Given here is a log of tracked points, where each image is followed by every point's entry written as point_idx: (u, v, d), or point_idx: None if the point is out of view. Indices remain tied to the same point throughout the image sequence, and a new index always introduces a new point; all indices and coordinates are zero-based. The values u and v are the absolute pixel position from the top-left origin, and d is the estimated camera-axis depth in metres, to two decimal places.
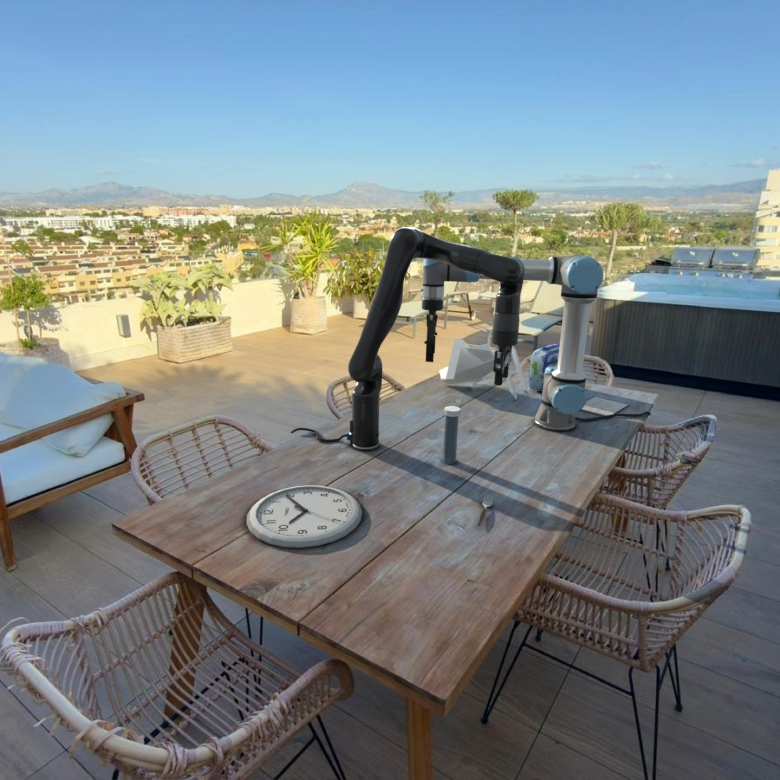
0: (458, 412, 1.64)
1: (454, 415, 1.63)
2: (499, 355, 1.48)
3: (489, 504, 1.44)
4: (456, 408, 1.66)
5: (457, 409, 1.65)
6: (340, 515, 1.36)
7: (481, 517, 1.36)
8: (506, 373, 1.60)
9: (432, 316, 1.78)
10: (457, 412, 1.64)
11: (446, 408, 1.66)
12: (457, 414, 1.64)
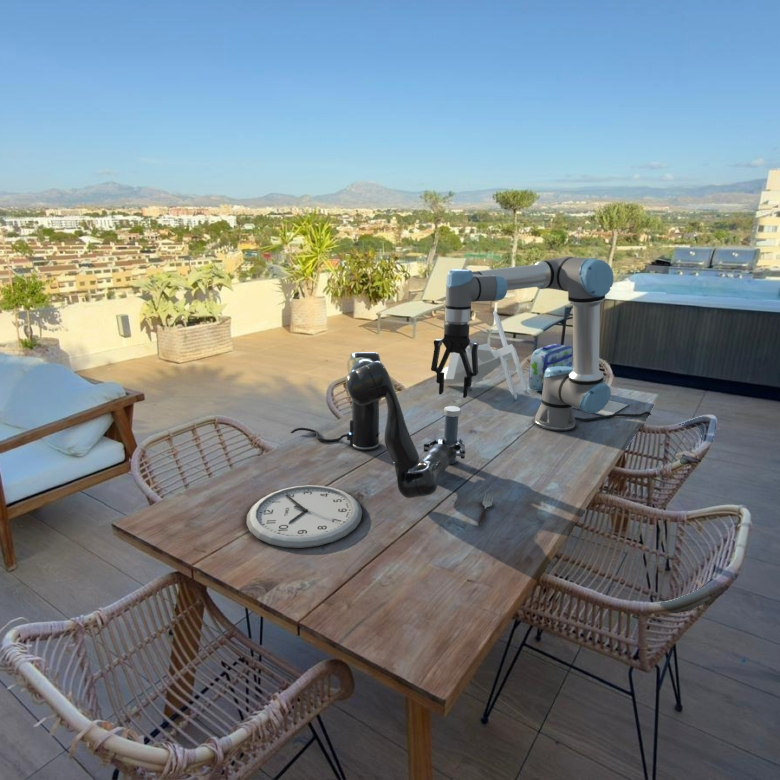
0: (458, 412, 1.64)
1: (454, 415, 1.63)
2: None
3: (489, 504, 1.44)
4: (456, 408, 1.66)
5: (457, 409, 1.65)
6: (340, 515, 1.36)
7: (481, 517, 1.36)
8: None
9: None
10: (457, 412, 1.64)
11: (446, 408, 1.66)
12: (457, 414, 1.64)
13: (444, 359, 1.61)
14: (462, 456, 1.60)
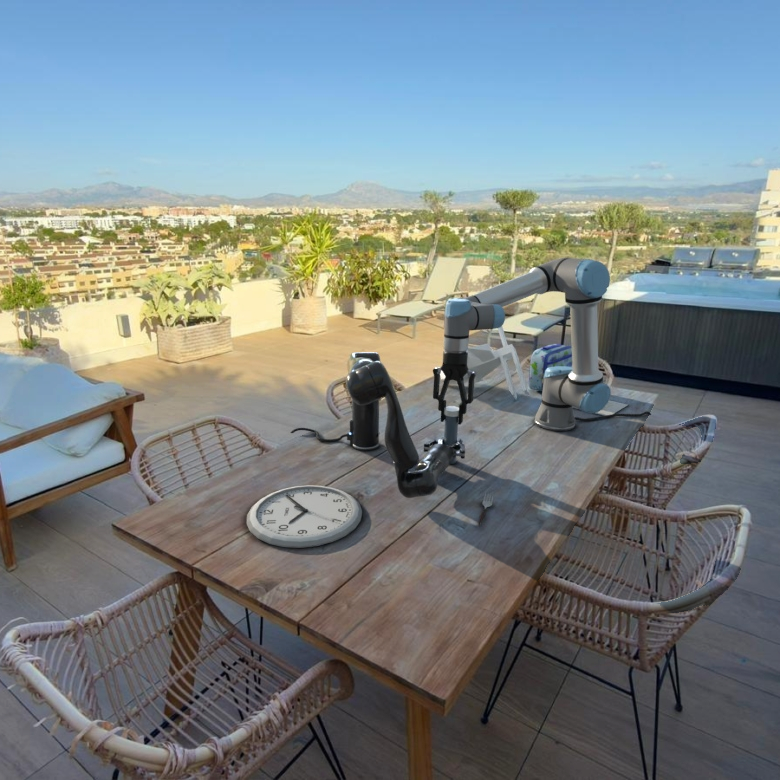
0: (458, 412, 1.64)
1: (454, 415, 1.63)
2: None
3: (489, 504, 1.44)
4: (456, 408, 1.66)
5: (457, 409, 1.65)
6: (340, 515, 1.36)
7: (481, 517, 1.36)
8: None
9: None
10: (457, 412, 1.64)
11: (446, 408, 1.66)
12: (457, 414, 1.64)
13: (444, 387, 1.63)
14: (462, 456, 1.60)
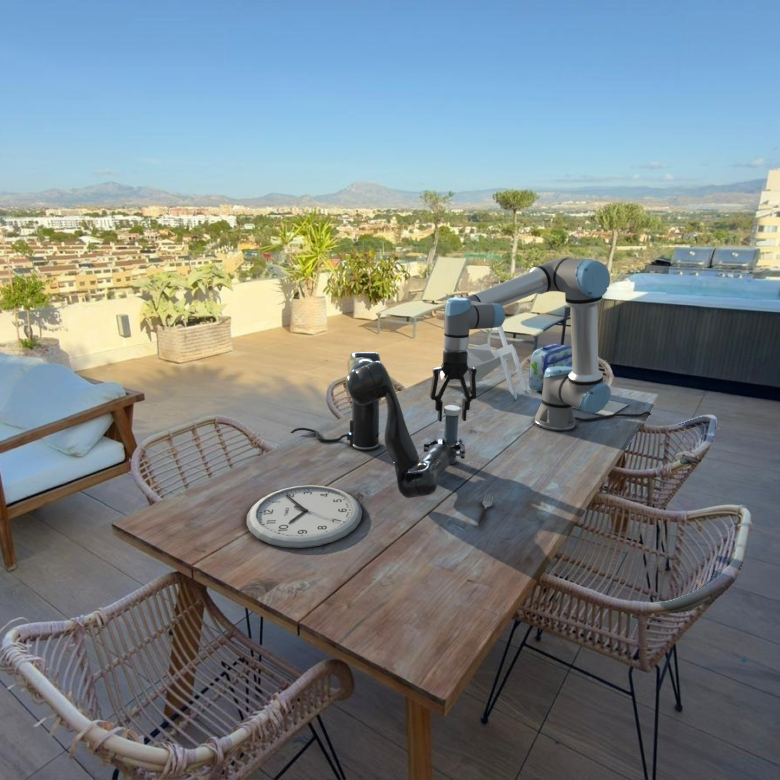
0: None
1: None
2: None
3: (489, 504, 1.44)
4: (450, 406, 1.67)
5: (453, 406, 1.67)
6: (340, 515, 1.36)
7: (481, 517, 1.36)
8: None
9: (433, 370, 1.61)
10: None
11: (453, 409, 1.64)
12: None
13: (444, 387, 1.62)
14: (462, 456, 1.60)
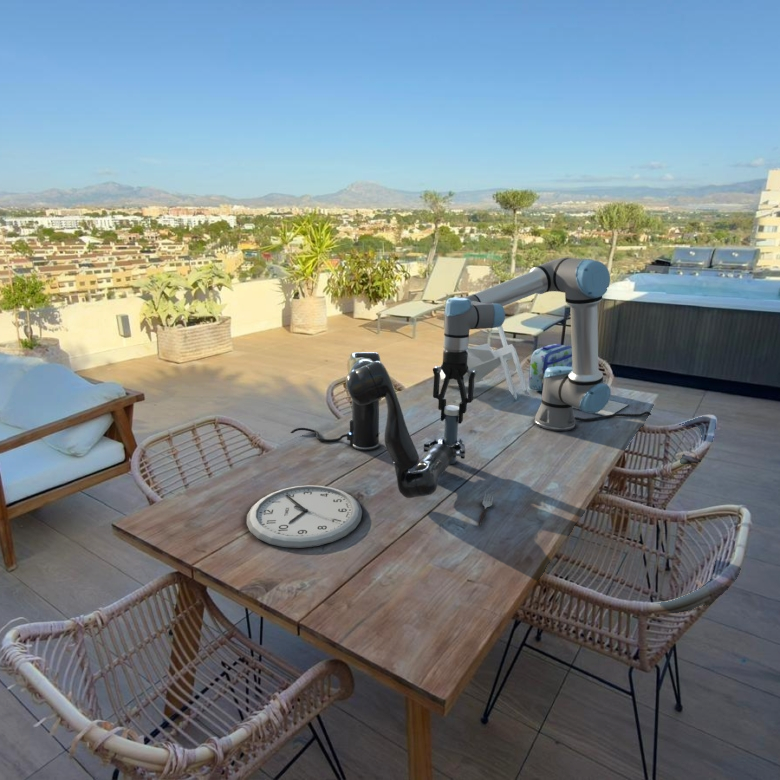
0: None
1: None
2: None
3: (489, 504, 1.44)
4: (450, 406, 1.67)
5: (453, 406, 1.67)
6: (340, 515, 1.36)
7: (481, 517, 1.36)
8: None
9: None
10: None
11: (453, 409, 1.64)
12: None
13: (444, 386, 1.63)
14: (462, 456, 1.60)
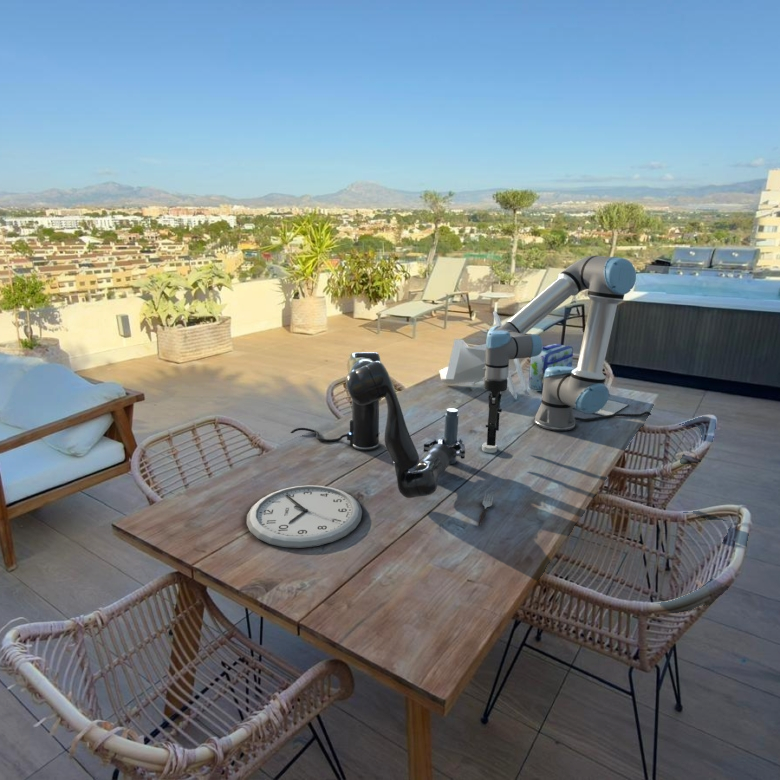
0: None
1: None
2: None
3: (489, 504, 1.44)
4: (486, 445, 1.79)
5: (484, 444, 1.80)
6: (340, 515, 1.36)
7: (481, 517, 1.36)
8: None
9: (494, 399, 1.68)
10: None
11: (495, 445, 1.80)
12: None
13: (496, 413, 1.71)
14: (462, 456, 1.60)
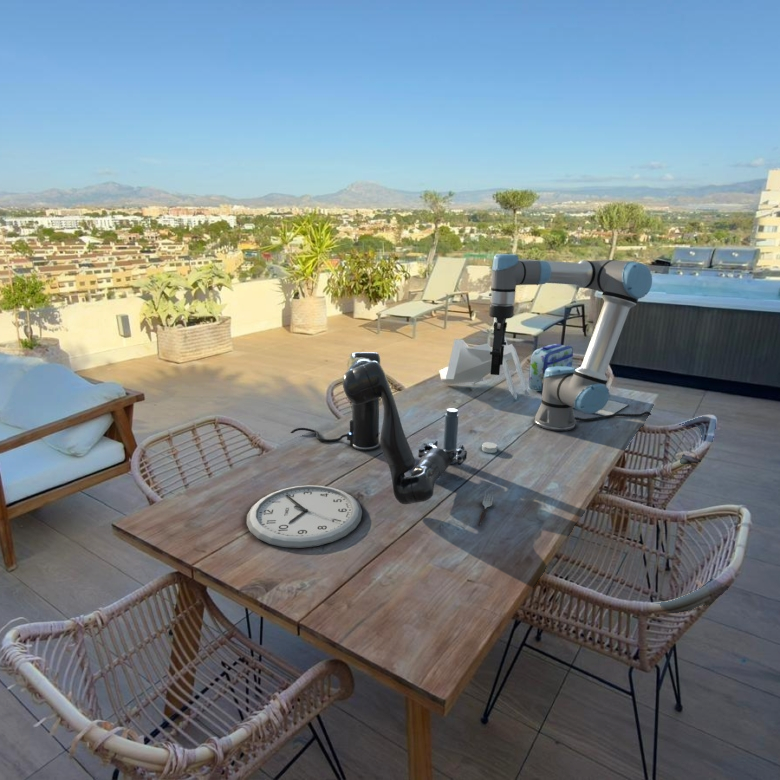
0: None
1: None
2: None
3: (489, 504, 1.44)
4: (486, 445, 1.79)
5: (484, 444, 1.80)
6: (340, 515, 1.36)
7: (481, 517, 1.36)
8: None
9: (500, 324, 1.61)
10: None
11: (495, 445, 1.80)
12: None
13: (501, 340, 1.64)
14: (458, 462, 1.56)
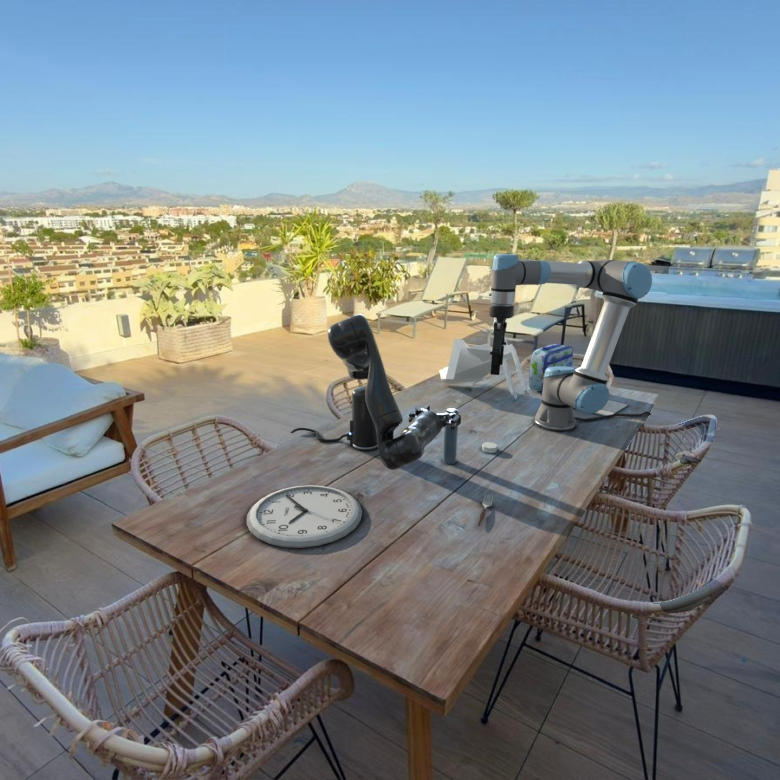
0: None
1: None
2: None
3: (489, 504, 1.44)
4: (486, 445, 1.79)
5: (484, 444, 1.80)
6: (340, 515, 1.36)
7: (481, 517, 1.36)
8: None
9: (500, 324, 1.61)
10: None
11: (495, 445, 1.80)
12: None
13: (501, 340, 1.64)
14: (451, 426, 1.44)
